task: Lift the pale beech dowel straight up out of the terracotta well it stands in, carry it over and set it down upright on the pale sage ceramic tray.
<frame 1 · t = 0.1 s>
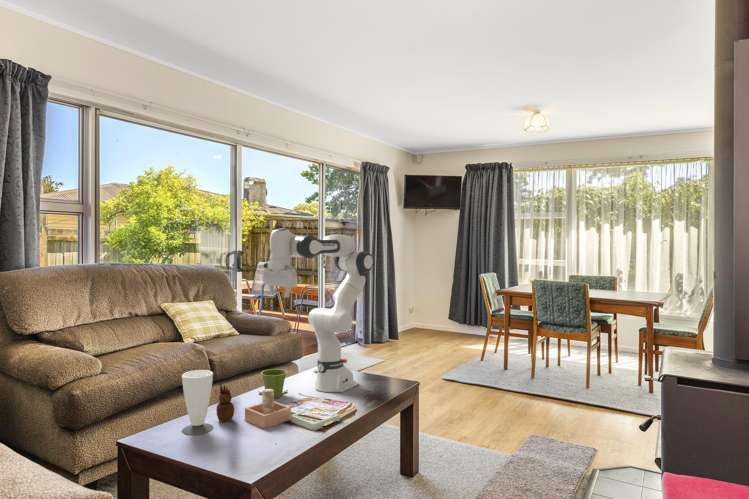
hand: (279, 296, 219), 48 cm above the table, fingers open, 8 cm apart
sage tray: (314, 421, 201), on the table
plant pot: (274, 396, 231), on the table
wooden figurine: (225, 421, 200), on the table
beech peg: (267, 420, 201), resting in terracotta well
terracotta well: (267, 419, 201), on the table
cup: (197, 429, 191), on the table
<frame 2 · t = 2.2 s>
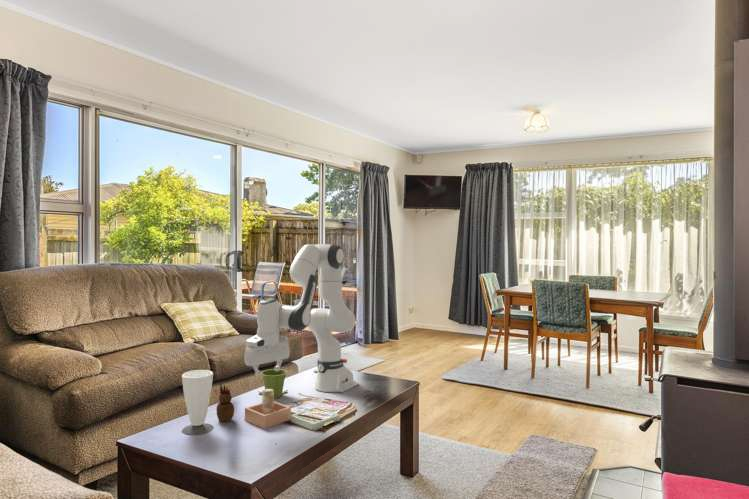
hand: (267, 373, 201), 19 cm above the table, fingers open, 8 cm apart
nothing on the table moved.
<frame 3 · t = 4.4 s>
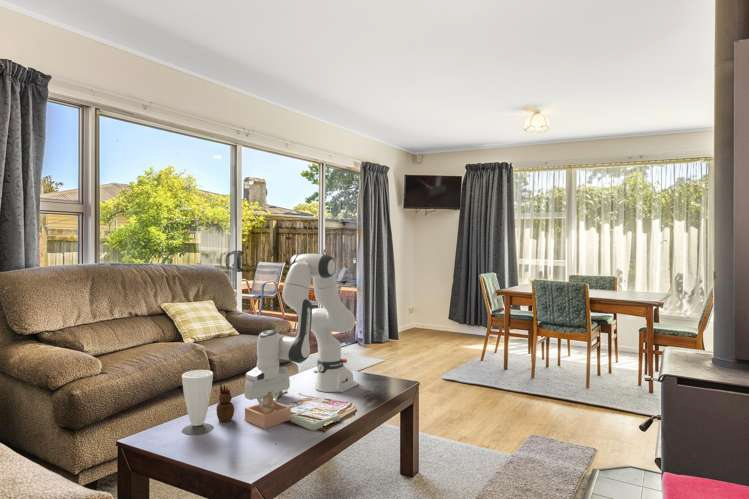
hand: (267, 405, 201), 6 cm above the table, fingers closed on beech peg, 4 cm apart
beech peg: (267, 419, 201), resting in terracotta well, touching gripper
everything else where it was.
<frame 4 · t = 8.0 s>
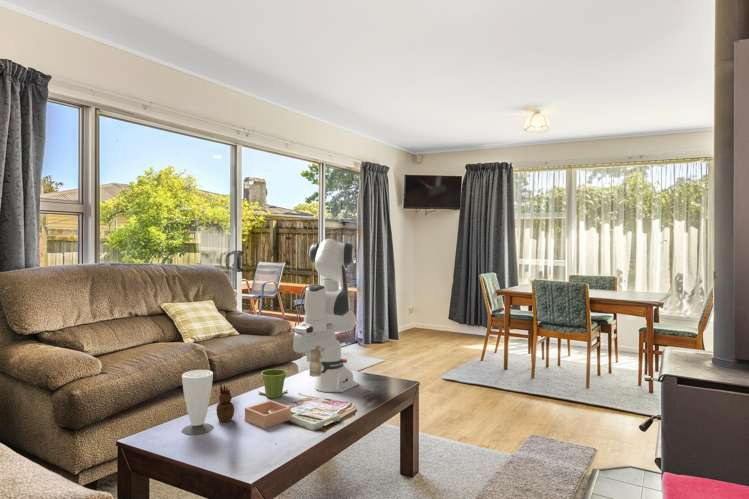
hand: (315, 359, 200), 25 cm above the table, fingers closed on beech peg, 4 cm apart
beech peg: (315, 375, 200), point 19 cm above the table, touching gripper
everything else where it was.
when the fingers open (9 cm above the table, at t = 11.8 s): beech peg drops 1 cm, resting on sage tray.
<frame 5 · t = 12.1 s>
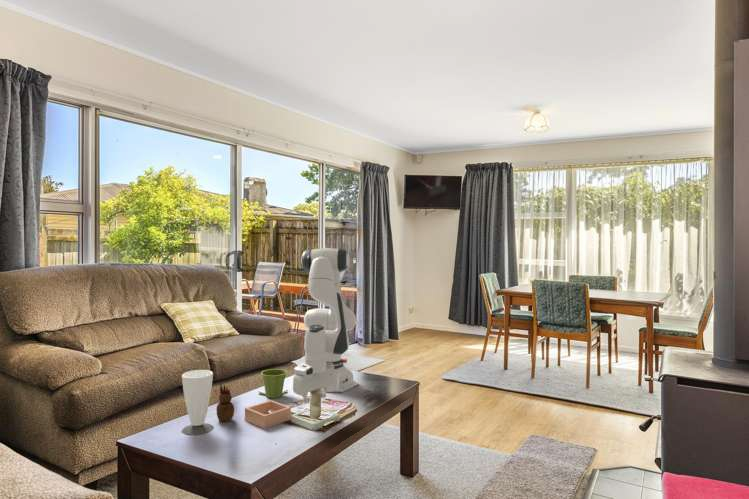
hand: (315, 400, 200), 9 cm above the table, fingers open, 8 cm apart
beech peg: (315, 418, 201), point 1 cm above the table, touching sage tray
everything else where it was.
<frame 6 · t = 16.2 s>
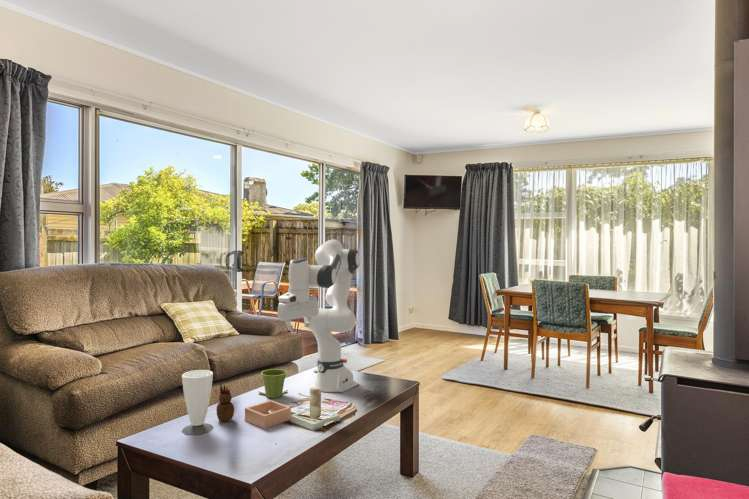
hand: (298, 328, 212), 35 cm above the table, fingers open, 8 cm apart
nothing on the table moved.
at the end: beech peg inside the target area on the sage tray (0.1 cm from its centre), point 1.0 cm above the sage tray's base; beech peg tilted 1°; the gripper is holding nothing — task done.
